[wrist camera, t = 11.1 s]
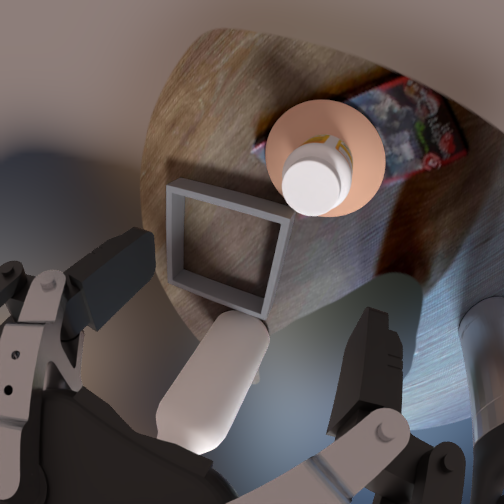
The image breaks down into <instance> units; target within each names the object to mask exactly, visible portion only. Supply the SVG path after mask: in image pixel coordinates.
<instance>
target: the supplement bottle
mask: <svg viewBox="0 0 504 504" xmlns="http://www.w3.org/2000/svg"><path fill="white" fill-rule="evenodd" d="M352 173H353V157H352V154H351V151H350V149H349V148H348V146H347V145H346V144H345V143H344V142H343V141H342V140H341V139H339V138H337V137H335V136H332V135H327V134H322V135H316V136H314V137H311V138H310V139H308V140H307V141H305V142H304V143H303V144H302V145H300V146H299V147H298V148H296V149H295V150H294V151H293V152H292V153H291V154H290V155H289V156H288V158H287V159H286V161H285V163H284V166H283V171H282V192H283V196H284V198H285V200H286V202H287V203H288V204H289V206H290V207H291V208H293V209H294V210H295V211H297V212H298V213H301V214H303V215H307V216H319V215H322V214H325V213H327V212H328V211H330V210H331V209H333V208H335V207H337V206H338V205H339V204H341V203H342V202H343V201H344V199H345V198H346V197H347V195H348V193H349V190H350V187H351V182H352Z"/></svg>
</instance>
